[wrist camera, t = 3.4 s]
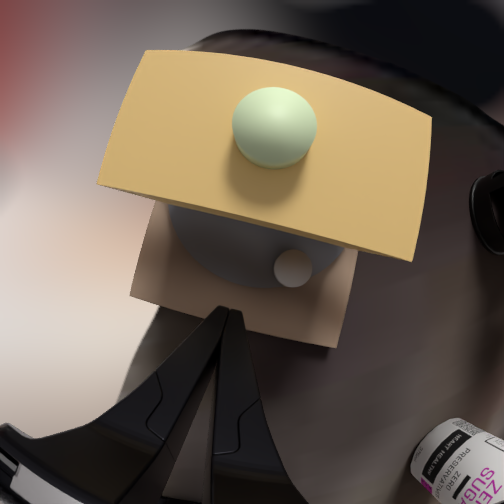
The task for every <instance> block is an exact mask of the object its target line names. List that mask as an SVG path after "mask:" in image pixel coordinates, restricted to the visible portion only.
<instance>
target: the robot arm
mask: <svg viewBox="0 0 504 504" xmlns="http://www.w3.org/2000/svg"><path fill="white" fill-rule="evenodd" d="M216 363H217V364H216ZM215 366H216V371H215V379H214V387H213V396H212V405H211V414H210V423H209V432H208V442H207V452H206V462H205V472H204V483H203V494H202V503H197V502H190V501H184V500H178V499H173V498H168V497H163V496H161V495H162V492H163V490H164V488H165V485H166V483H167V481H168V478H169V476H170V474H171V471H172V469H173V467H174V464H175V462H176V460H177V457H178V455H179V453H180V450H181V448H182V445H183V443H184V441H185V438H186V436H187V434H188V431H189V429H190V426H191V424H192V422H193V419H194V417H195V415H196V412H197V410H198V407H199V405H200V403H201V400H202V398H203V395H204V393H205V391H206V388H207V386H208V383H209V381H210V379H211V376H212V374H213V371H214V369H215ZM0 504H309V503H308V502H307V501H306V500H305V499H304V497H303V496H302V495H301V494H300V492H299V491H298V490H297V489H296V487H295V486H294V485H293V483H292V482H291V480H290V478H289V477H288V475H287V473H286V470H285V468H284V466H283V464H282V461H281V459H280V456H279V454H278V451H277V449H276V446H275V444H274V441H273V439H272V436H271V433H270V430H269V427H268V425H267V421H266V418H265V414H264V410H263V406H262V401H261V399H260V393H259V388H258V384H257V379H256V374H255V370H254V365H253V361H252V356H251V351H250V346H249V342H248V337H247V332H246V327H245V322H244V317H243V313H242V311H241V310H237V309H233V308H231V309H229V308H228V307H225V306H221V305H218V306H217V307H216V308H215V309H214V310H213V311H212V312H211V313H210V314H209V315H208V316H207V317H206V318H205V319H204V320H203V321H202V322H201V323H200V324H199V325H198V326H197V327H196V328H195V329H194V330H193V331H192V333H191V334H190V335H189V336H188V337H187V338H186V339H185V340H184V341H183V342H182V343H181V344H180V345H179V346H178V347H177V348H176V349H175V350H174V351H173V352H172V353H171V354H170V355H169V356H168V357H167V358H166V359H165V360H164V361H163V362H162V363H161V364H160V365H159V366H158V367H157V369H156V371H153V372H152V373H151V374H150V375H149V377H148V378H147V379H145V380H144V381H143V382H142V383H141V384H140V385H139V386H138V387H137V388H136V389H135V390H133V391H132V392H131V393H130V394H129V395H127V396H126V397H125V398H123V399H122V400H121V401H120V402H118V403H117V404H116V405H114V406H113V407H112V408H110V409H109V410H108V411H106V412H105V413H103V414H102V415H101V416H99V417H98V418H96V419H95V420H93V421H92V422H90V423H88V424H85V425H83V426H80V427H77V428H74V429H71V430H67V431H64V432H60V433H57V434H53V435H50V436H46V437H43V438H37V439H34V438H32V437H30V436H29V435H27V434H25V433H24V432H22V431H21V430H19V429H18V428H16V427H14V426H13V425H11V424H9V423H4V424H2V425H0ZM494 504H504V500H502V501H500V502H497V503H494Z"/></svg>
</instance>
